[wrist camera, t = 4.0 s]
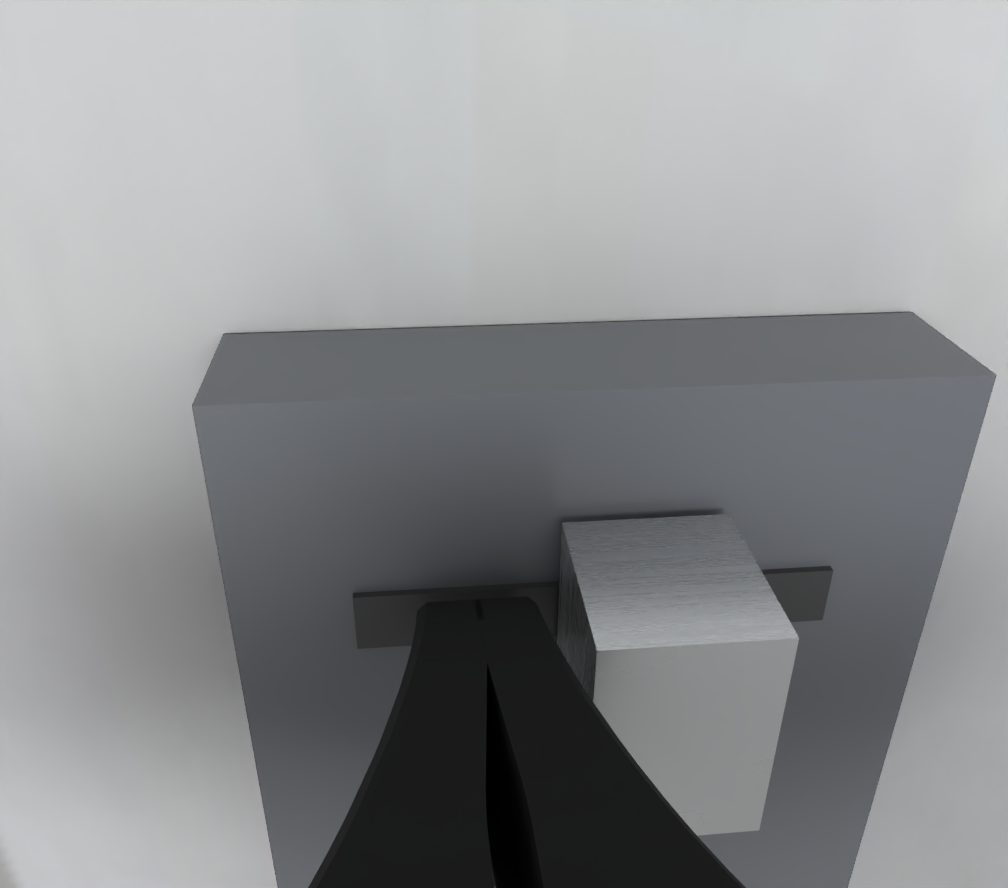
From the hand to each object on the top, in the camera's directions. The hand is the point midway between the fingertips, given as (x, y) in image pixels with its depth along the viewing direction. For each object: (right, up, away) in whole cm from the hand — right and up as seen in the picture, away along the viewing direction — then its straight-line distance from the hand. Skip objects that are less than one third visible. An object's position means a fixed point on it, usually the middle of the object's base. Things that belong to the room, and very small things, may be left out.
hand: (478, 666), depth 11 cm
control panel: (+1, -4, +6) cm, 7 cm away
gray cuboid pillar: (+2, +1, +1) cm, 2 cm away
